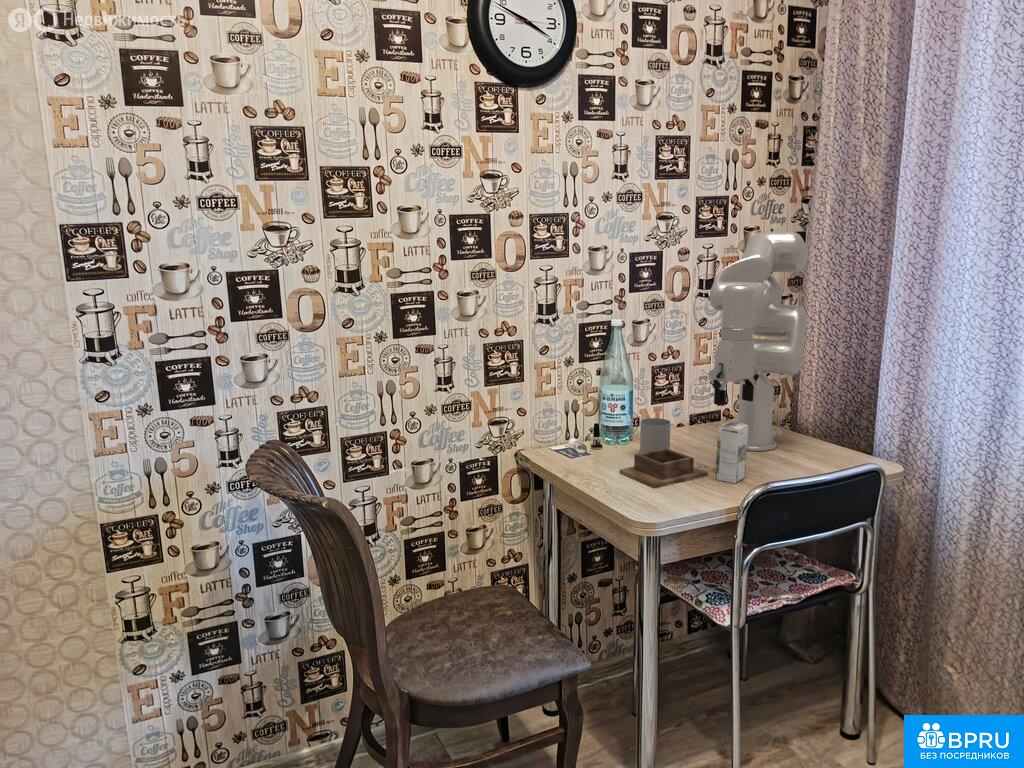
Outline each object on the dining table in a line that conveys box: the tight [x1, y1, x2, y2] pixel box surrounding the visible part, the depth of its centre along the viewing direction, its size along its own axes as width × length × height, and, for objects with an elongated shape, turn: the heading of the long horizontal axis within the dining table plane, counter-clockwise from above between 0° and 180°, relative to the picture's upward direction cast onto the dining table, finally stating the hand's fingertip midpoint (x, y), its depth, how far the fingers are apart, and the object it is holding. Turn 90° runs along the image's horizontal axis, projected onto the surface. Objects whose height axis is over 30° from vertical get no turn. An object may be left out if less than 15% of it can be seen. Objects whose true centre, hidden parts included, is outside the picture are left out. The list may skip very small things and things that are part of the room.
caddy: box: [619, 448, 709, 489], centre depth 198 cm, size 18×14×5 cm
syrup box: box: [714, 421, 748, 484], centre depth 192 cm, size 6×6×14 cm
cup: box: [639, 417, 671, 453], centre depth 213 cm, size 8×8×10 cm
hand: (733, 402), depth 189 cm, fingers open, 9 cm apart
